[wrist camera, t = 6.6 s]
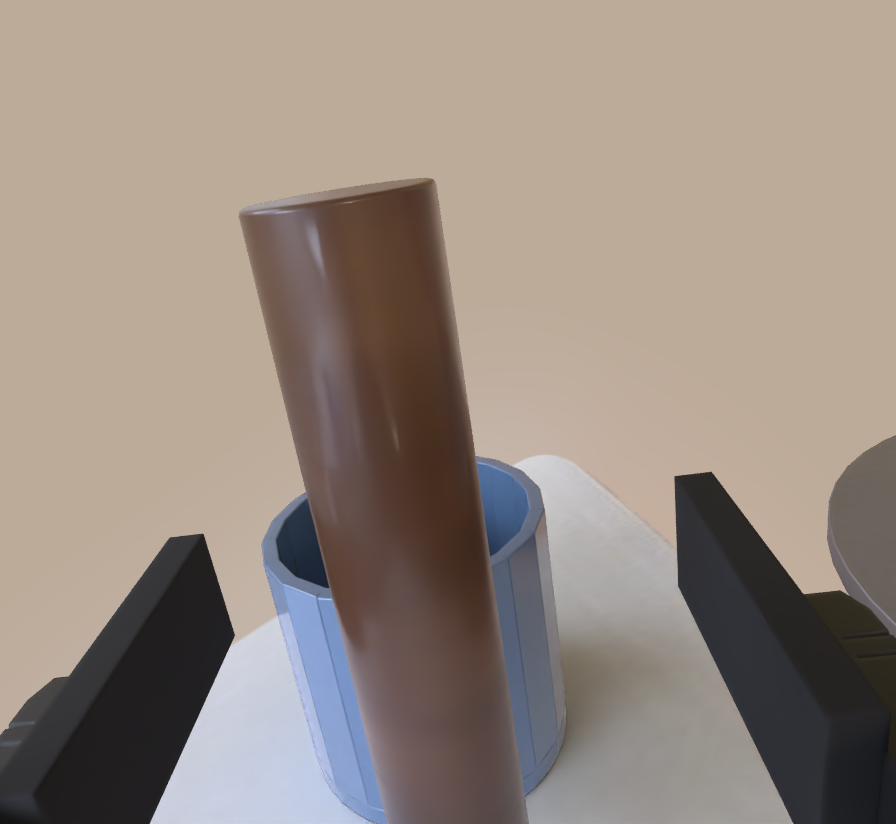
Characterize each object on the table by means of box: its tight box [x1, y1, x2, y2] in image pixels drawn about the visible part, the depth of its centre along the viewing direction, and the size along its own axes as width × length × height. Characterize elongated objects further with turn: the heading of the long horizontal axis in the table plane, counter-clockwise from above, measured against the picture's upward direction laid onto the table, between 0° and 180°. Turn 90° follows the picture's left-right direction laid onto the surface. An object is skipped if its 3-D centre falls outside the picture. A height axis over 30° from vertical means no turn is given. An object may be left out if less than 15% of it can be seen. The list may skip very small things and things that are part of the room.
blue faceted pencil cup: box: [262, 456, 566, 824], centre depth 25 cm, size 9×9×9 cm
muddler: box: [239, 178, 529, 824], centre depth 12 cm, size 4×4×20 cm
